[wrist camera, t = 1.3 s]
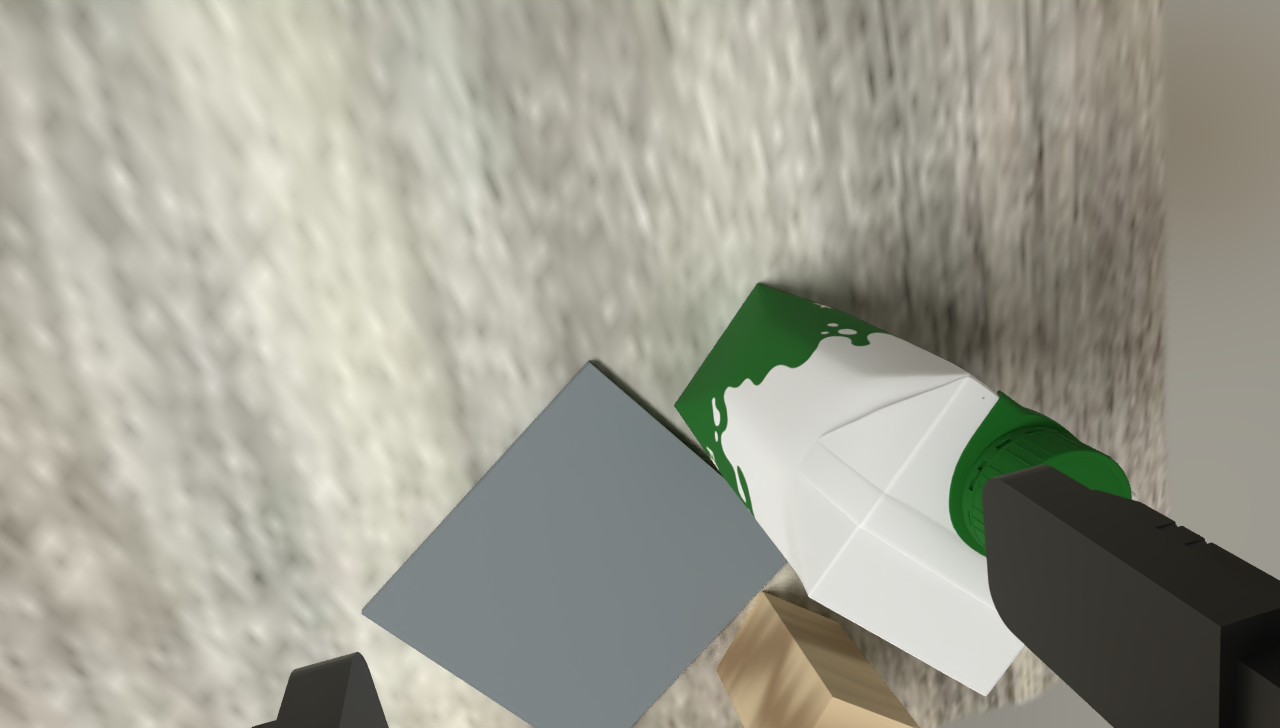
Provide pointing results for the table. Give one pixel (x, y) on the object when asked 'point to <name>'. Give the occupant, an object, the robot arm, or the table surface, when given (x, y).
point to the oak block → (804, 673)
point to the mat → (581, 566)
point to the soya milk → (875, 471)
